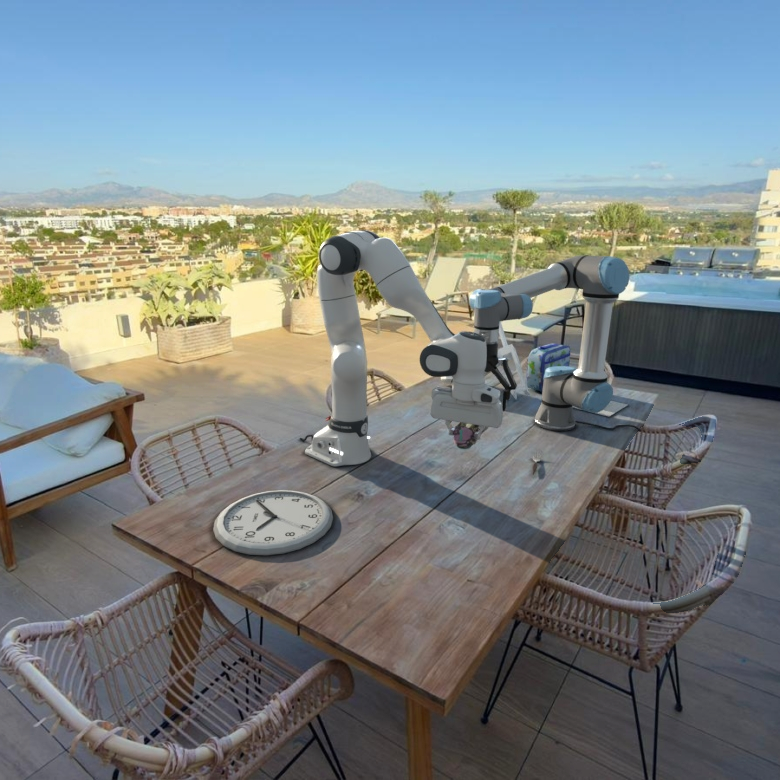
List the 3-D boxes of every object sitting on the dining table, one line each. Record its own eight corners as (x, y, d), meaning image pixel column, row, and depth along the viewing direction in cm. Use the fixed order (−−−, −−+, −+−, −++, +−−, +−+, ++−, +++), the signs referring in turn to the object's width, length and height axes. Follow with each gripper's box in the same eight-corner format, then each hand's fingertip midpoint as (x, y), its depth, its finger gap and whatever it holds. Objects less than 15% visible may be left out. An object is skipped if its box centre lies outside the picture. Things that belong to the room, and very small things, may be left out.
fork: (528, 475, 162) (529, 469, 161) (533, 455, 176) (534, 449, 176) (537, 476, 161) (537, 470, 160) (541, 456, 175) (542, 451, 175)
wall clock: (331, 546, 121) (198, 551, 119) (331, 552, 122) (199, 557, 119) (333, 485, 150) (227, 488, 147) (334, 490, 150) (227, 493, 148)
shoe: (493, 424, 167) (495, 399, 164) (475, 453, 146) (477, 424, 143) (468, 420, 170) (469, 395, 168) (446, 448, 149) (447, 419, 146)
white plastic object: (461, 429, 252) (437, 405, 227) (444, 352, 274) (420, 323, 250) (535, 404, 240) (518, 377, 215) (510, 326, 262) (492, 293, 237)
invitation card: (608, 416, 214) (573, 407, 224) (608, 416, 214) (573, 408, 224) (628, 404, 229) (594, 396, 238) (628, 405, 229) (594, 397, 238)
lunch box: (542, 395, 240) (547, 351, 233) (522, 390, 247) (526, 347, 241) (569, 384, 257) (575, 343, 251) (550, 380, 264) (554, 339, 258)
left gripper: (428, 388, 146) (426, 434, 150) (502, 398, 139) (497, 446, 143) (435, 382, 152) (432, 427, 156) (506, 392, 144) (501, 438, 149)
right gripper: (442, 341, 161) (441, 406, 167) (525, 347, 152) (520, 415, 159) (449, 336, 167) (447, 399, 174) (529, 342, 159) (524, 407, 165)
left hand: (464, 436), depth 149 cm, fingers closed on shoe, 6 cm apart
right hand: (482, 407), depth 166 cm, fingers open, 13 cm apart
